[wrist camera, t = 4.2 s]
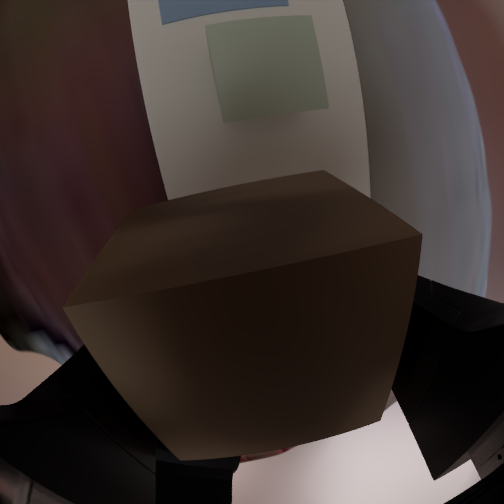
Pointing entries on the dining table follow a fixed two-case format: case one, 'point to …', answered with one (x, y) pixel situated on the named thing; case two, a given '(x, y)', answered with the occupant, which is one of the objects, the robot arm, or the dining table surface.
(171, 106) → the build board
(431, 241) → the dining table surface
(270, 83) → the sage block
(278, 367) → the walnut block
